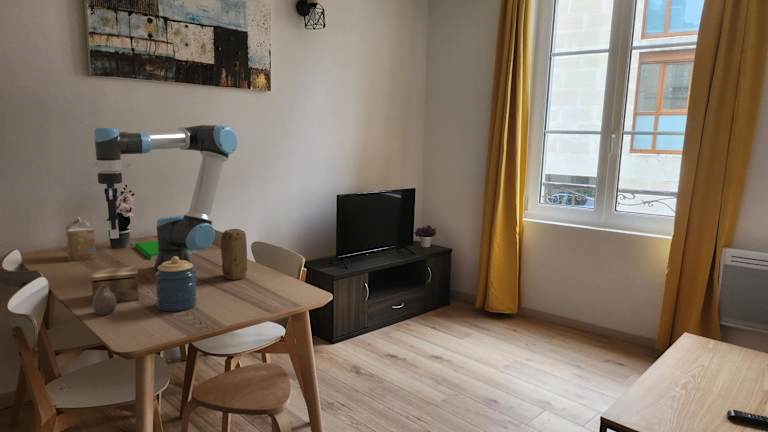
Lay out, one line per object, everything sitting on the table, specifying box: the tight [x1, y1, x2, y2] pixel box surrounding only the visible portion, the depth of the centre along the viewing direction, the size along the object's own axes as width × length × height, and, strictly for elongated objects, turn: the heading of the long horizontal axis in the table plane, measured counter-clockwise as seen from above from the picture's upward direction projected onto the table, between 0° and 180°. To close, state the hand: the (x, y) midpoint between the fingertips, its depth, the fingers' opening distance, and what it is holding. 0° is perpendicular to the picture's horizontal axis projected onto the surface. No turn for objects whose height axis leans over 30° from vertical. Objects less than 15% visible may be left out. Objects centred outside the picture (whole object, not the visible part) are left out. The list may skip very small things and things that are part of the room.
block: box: [220, 228, 248, 281], centre depth 208 cm, size 11×8×20 cm
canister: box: [154, 256, 198, 313], centre depth 173 cm, size 13×13×18 cm
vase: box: [92, 287, 117, 316], centre depth 165 cm, size 7×7×9 cm
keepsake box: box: [91, 276, 140, 304], centre depth 181 cm, size 14×12×8 cm
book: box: [134, 240, 198, 261], centre depth 251 cm, size 22×28×3 cm
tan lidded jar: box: [65, 216, 97, 263], centre depth 231 cm, size 10×11×19 cm
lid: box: [90, 266, 139, 282], centre depth 180 cm, size 14×12×1 cm
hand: (114, 237), depth 180 cm, fingers closed
